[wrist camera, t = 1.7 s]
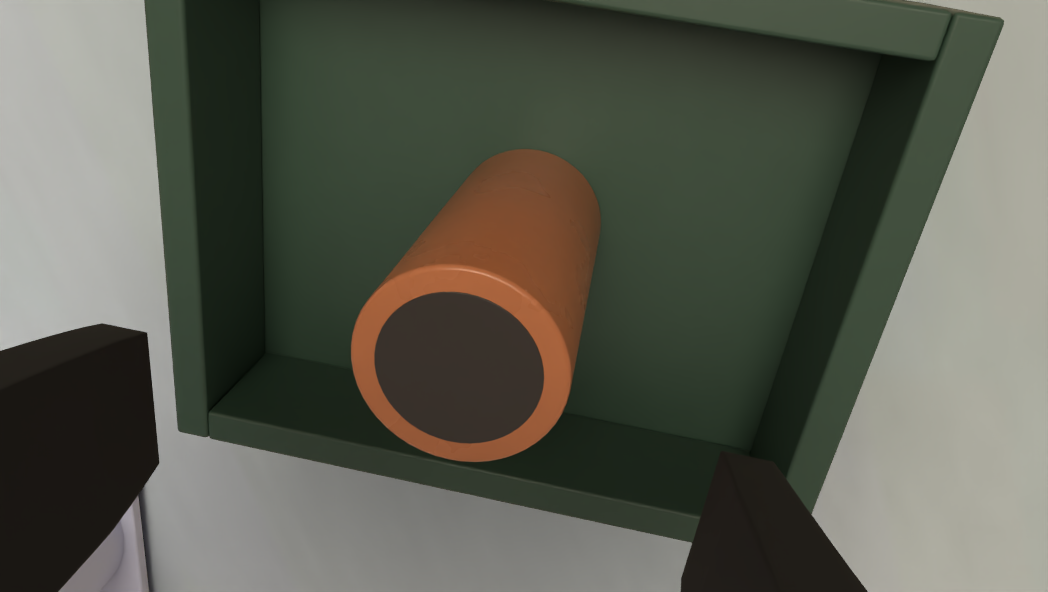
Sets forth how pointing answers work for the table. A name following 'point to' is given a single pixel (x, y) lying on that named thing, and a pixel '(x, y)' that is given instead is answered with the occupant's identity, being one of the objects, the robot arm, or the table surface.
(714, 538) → the robot arm
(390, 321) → the tube
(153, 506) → the table surface
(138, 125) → the table surface
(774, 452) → the basket
